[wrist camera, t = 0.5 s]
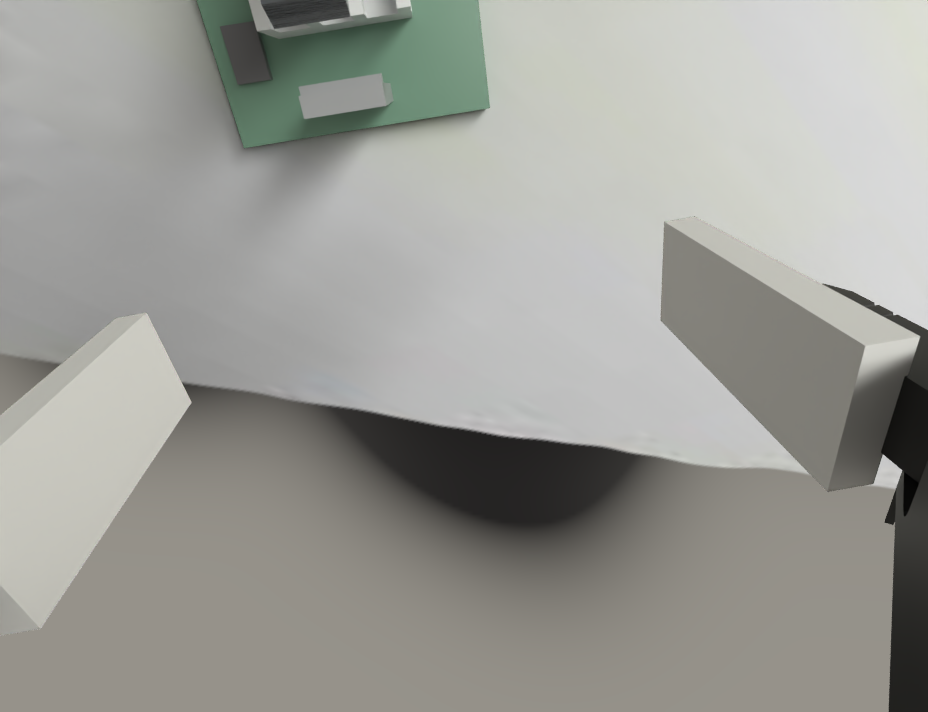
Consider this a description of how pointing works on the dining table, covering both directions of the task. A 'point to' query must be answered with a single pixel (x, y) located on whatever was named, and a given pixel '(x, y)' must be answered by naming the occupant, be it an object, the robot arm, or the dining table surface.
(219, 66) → the board
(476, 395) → the dining table surface
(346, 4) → the strap
